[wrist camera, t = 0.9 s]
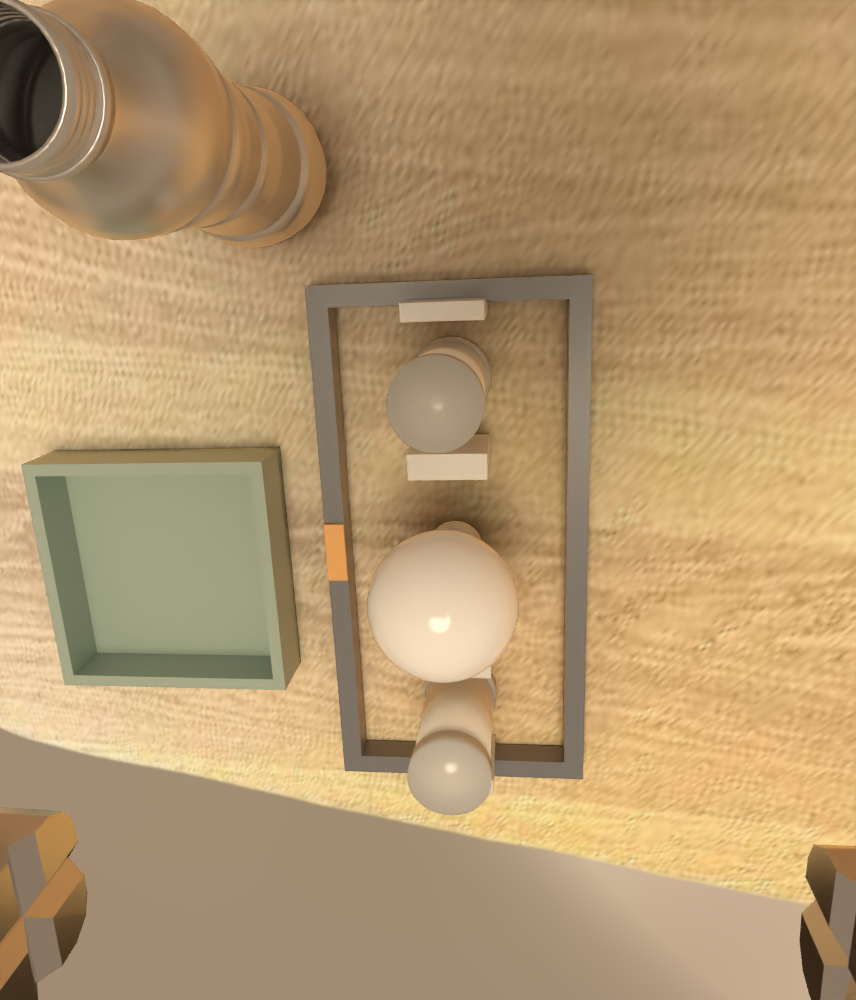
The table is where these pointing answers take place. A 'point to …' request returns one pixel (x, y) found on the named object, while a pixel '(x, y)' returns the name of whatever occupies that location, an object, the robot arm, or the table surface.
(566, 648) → the rail
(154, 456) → the tray
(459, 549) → the lightbulb
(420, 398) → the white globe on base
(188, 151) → the plastic bottle
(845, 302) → the table surface
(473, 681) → the cylinder
